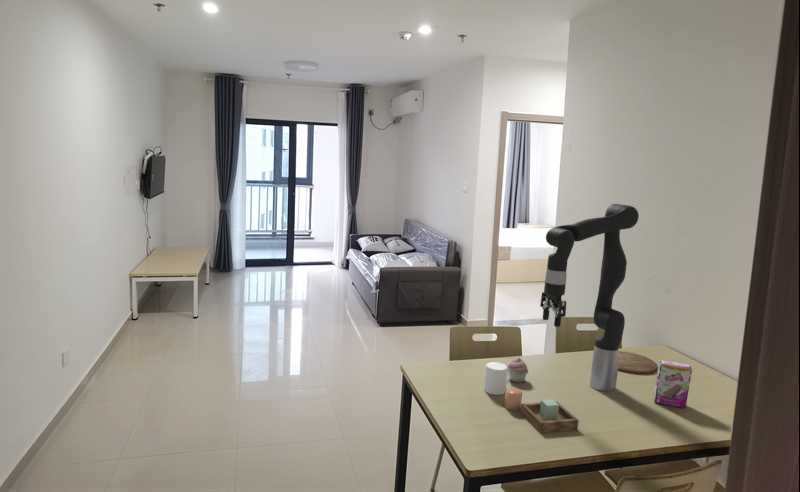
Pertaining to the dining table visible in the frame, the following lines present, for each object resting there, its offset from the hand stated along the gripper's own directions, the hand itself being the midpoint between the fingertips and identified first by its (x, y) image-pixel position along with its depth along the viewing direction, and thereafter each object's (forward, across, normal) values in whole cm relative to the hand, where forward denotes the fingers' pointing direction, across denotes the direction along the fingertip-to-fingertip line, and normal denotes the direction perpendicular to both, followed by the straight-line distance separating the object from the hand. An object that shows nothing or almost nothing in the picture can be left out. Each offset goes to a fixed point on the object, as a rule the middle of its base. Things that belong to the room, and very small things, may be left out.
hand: (551, 323), depth 207 cm
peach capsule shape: (+30, -6, +16) cm, 35 cm away
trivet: (+31, +28, -59) cm, 72 cm away
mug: (+30, +9, +15) cm, 35 cm away
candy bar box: (+30, -12, -48) cm, 58 cm away
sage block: (+29, -18, +8) cm, 35 cm away
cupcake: (+30, +17, +3) cm, 35 cm away
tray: (+30, -18, +8) cm, 36 cm away
